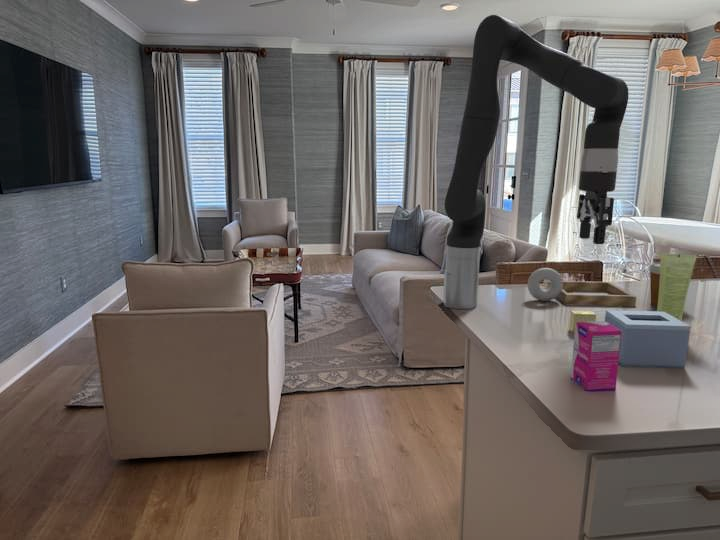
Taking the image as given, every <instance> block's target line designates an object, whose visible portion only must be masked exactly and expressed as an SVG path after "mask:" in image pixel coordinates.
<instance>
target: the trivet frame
mask: <svg viewBox="0 0 720 540" xmlns="http://www.w3.org/2000/svg"><path fill="white" fill-rule="evenodd" d="M546 283H547V284H546V290H547V289H548V288H549V287H550V286H551V282H550V281H549V280H547V282H546ZM565 290H566V291H565ZM568 291H569V292H606V293H609V294H592V293H591V294H589V293H588V294H587V293H586V294H585V293H569V292H568ZM558 298H559V299H560V300H559V299H558ZM556 299H558V300H559V301H561V302H562V303H563V302H564V303H565V304H564V303H563V304H564V305H566V304H574V305H573V306H613V305H615V306H617V305H618V306H619V307H624V306H625V307H627V306H628V307H630V306H631V307H636V304H637V296H636V295H634V294H633V293H631V292H629V291H627V290H625V289H624V288H621V286H618V285H616V284H614V283H612V282H611V281H588V280H587V281H584V280H583V281H581V280H576V281H575V280H563V287H562V291H561V292H560V294H559V295H558V296H557V297H556Z"/></svg>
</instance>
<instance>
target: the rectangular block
mask: <svg viewBox="0 0 720 540" xmlns="http://www.w3.org/2000/svg"><path fill="white" fill-rule="evenodd" d="M590 321H597V313H595V312H594V311H592V310H591V311H589V310H570V317H569V328H568V330H569V331H570V332H571V333H572V334H575V323H576V322H590Z"/></svg>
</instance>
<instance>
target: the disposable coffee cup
mask: <svg viewBox="0 0 720 540" xmlns="http://www.w3.org/2000/svg"><path fill="white" fill-rule="evenodd" d="M648 270H649V272H650V277H649V278H650V281H649V282H650V285H649V286H650V305H651V306H653V307H656V308H658V297H659V283H660V262H651V264H650V266H649V267H648Z"/></svg>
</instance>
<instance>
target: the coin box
mask: <svg viewBox="0 0 720 540" xmlns="http://www.w3.org/2000/svg"><path fill="white" fill-rule="evenodd" d="M604 314H605V315H604V321H605V322H607V323H609V324H611V325H612V326H614V327H616V328H617V329H619V330H621V331H622V334H621V343H620V352H619V362H618V366H620V367H621V368H623V367H624V368H625V367H626V368H654V369H655V368H660V369H661V368H663V369H685V368H686V363H687V361H686V360H687V355H688V348H689V341H690V333H691V327H692V326H691V325H689V324H687V323H686V322H684V321H682V320H681V321H680V320H678V319H677V318H675V317H673V316H671V315H669V314H667V313H666V312H659V311H657V310H656V311H653V310H652V311H651V310H618V309H616V310H612V309H605V313H604Z"/></svg>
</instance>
